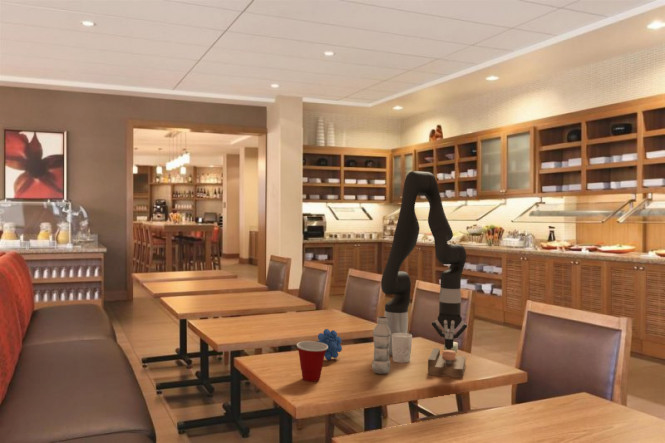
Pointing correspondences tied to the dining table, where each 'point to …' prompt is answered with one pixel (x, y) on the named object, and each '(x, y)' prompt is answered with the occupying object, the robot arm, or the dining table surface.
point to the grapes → (330, 343)
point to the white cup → (401, 347)
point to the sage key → (452, 348)
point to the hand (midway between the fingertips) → (448, 348)
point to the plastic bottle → (381, 346)
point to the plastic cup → (311, 359)
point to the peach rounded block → (448, 356)
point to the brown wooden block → (445, 365)
